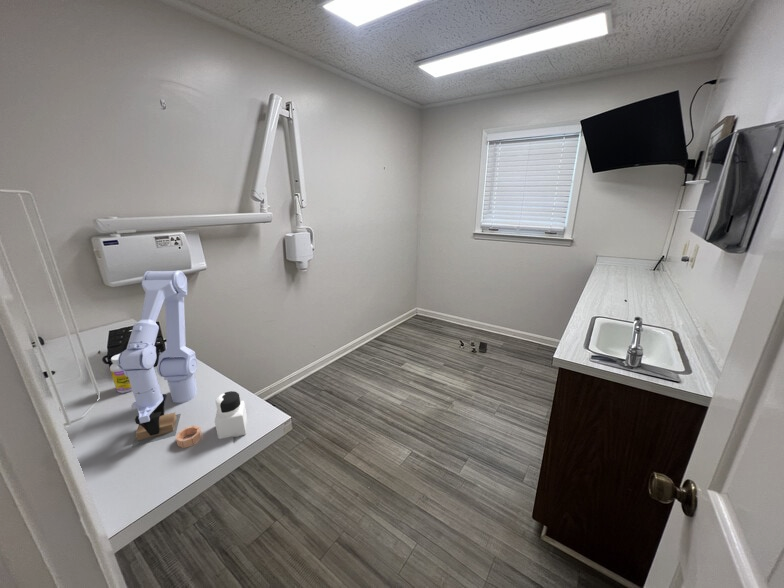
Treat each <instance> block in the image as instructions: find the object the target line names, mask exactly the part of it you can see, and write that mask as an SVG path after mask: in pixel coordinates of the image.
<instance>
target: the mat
mask: <svg viewBox="0 0 784 588" xmlns="http://www.w3.org/2000/svg"><path fill="white" fill-rule="evenodd" d="M176 418H177V420H176V424H175V428H174V431H172V432H168V433H164V434H160V435H156V436H153V437H149V438H145V439H141V440H137V437H136V436H135V438H134V440H133V444H132V445H131V447H132V448H134V447H137V446H142V445H144V444H145V445H146V444H148V443H153V442H156V441H160V440H165V439H167V438H171V437H175V436H177V430H178V427H179V422H180V418H181V413H179V414H178V413H177V414H176Z"/></svg>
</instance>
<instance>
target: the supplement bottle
mask: <svg viewBox="0 0 784 588" xmlns="http://www.w3.org/2000/svg"><path fill="white" fill-rule="evenodd" d="M120 354H121V353H118V354H115V355H113V356H112V357H111V358H110V360H111V363H112V364H111V365H110V367H109V369H110V370H109V371H110V373H111V377H112V379H113V383H114V386H115V388H116V389H115V390H116V392H118V393H120V394H121V393H122V394H125V393H130V392H133V391H132V388H131V384H130V381H129V378H128V377H127V376H125V374H124V372H123V371H122V370H120V369H119V367H118V358H119V355H120Z"/></svg>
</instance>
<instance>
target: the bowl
mask: <svg viewBox="0 0 784 588" xmlns="http://www.w3.org/2000/svg"><path fill="white" fill-rule="evenodd" d="M193 434H194V435H193ZM191 435H192V436H191ZM187 436H191V437H187ZM202 436H203V434H202V429H201V427H200V426H198V425H191V426H187V427H185V428H182V429H181V430H180V431H178V433H176V437H175V441H176V444H177V446H178V447H180V448H182V449H185V448H188V447H192V446H194V445H196V444H197V443H198V442H199V441H201V440H202ZM186 437H187V438H186Z"/></svg>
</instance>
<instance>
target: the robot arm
mask: <svg viewBox="0 0 784 588" xmlns="http://www.w3.org/2000/svg"><path fill="white" fill-rule="evenodd" d="M141 287H142V288H143V291H144V292H145V294H144V299H143V304H142V305H143V306H142V310H141V316H140V320H139V321H137V322H136V323H134V324H133V326H132V330H131V333H130V337H129V339H128V343H127V346H126V349H124V350H123V351H122V352H120V353H119V354H120V355H119V358H118V367H119V369H120V370H122V371H123V372H124V374H125V376H127V377H128V378H129V381H130V384H131V388H132V391H131V392H132V394H133V398H134V400H135V401H134V402H133V403H132V404H131V409H135V408H136V409H137V412H138V415H136V417H135V418H134V422H135V424H136V425H138V426H139V425H141V426H142V427H143V428H144V429H145V430H146V431H147V432H148V433H149V435H150V436H152V435H155V434H159V431H160V426H159V417H160V416H162V415H165V402H166V399H167V393H162V392H161V391H162V390H161V386H160V384H159V381H158V377H157V374H158V376H159V377H161V378H163V379H164V380H165V381H167V384H168V385H167V386H168V389H169V392H170V396H171V399H172V402H173V403H174V404H183V403H187V402H189V401H192V400H193V399H194V398H196V397H197V396H198V388H197V387H198V384H197V380H196V375H195V373H196V371H197V368H198V359H197V357H196V352H195V351H194V350H193V349H191V348H189V347H187V346H186V345H187V344H186V321H185V320H186V317H185V312H186V311H185V297H186V296H188V277H187V276H186V275H185V273H184V272H183V271H182V270H158V271H157V270H156V271H154V270H147V271H145V272H144V274H143V276H142V281H141ZM163 304H164V305H165V306H164V307H165V308H164V309H165V334H166V337H165V338H166V341H165V342H166V349H165V350H164V351H162V352H161V353H160V354H159V355H158V362H157V367H156V371H155V367H154V366H155V363H156V361H157V347H156V346H155V344H156V341H157V337H158V334H159V330H160V326H159V325H158V324H157V323H156V322H157V320H158V317H159V314H160V311H161V309H162V307H163ZM156 372H157V374H156Z"/></svg>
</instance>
